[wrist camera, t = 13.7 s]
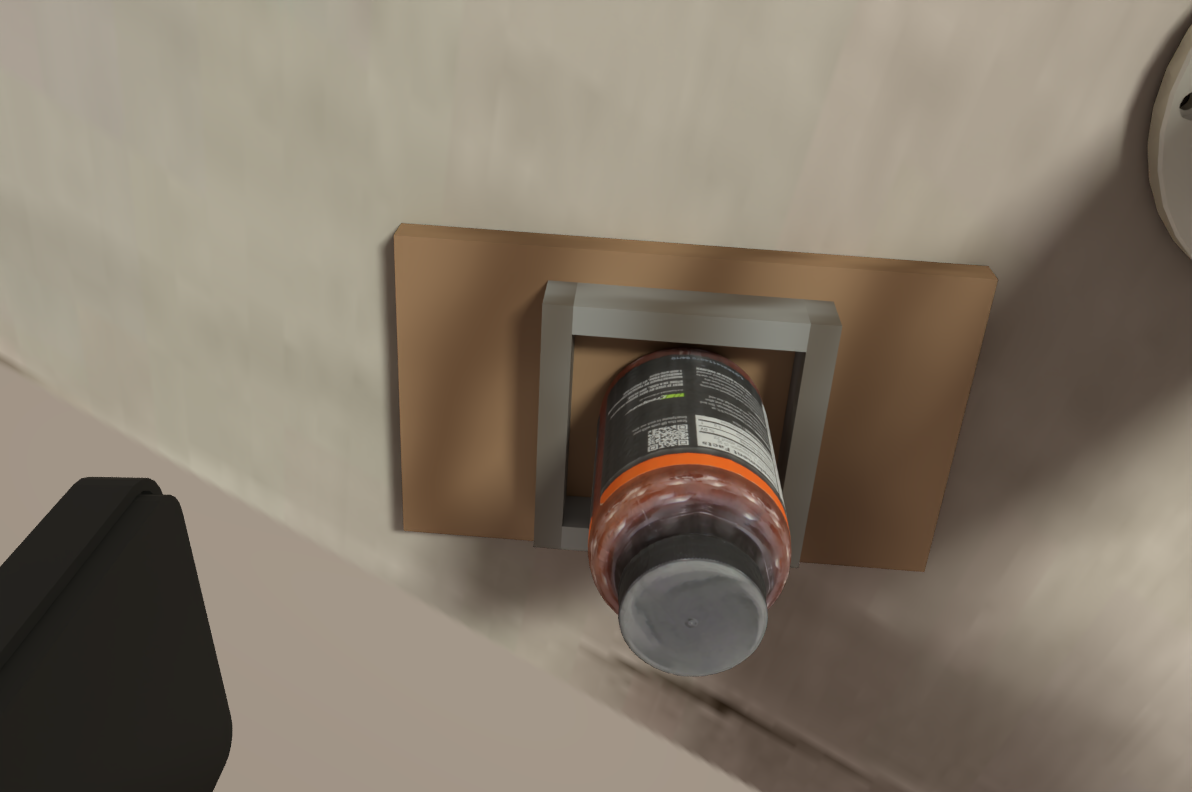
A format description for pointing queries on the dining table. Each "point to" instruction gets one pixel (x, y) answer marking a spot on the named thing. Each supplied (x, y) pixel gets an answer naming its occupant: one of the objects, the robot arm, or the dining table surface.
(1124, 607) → the dining table surface
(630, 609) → the supplement bottle
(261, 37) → the dining table surface
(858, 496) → the cap board
